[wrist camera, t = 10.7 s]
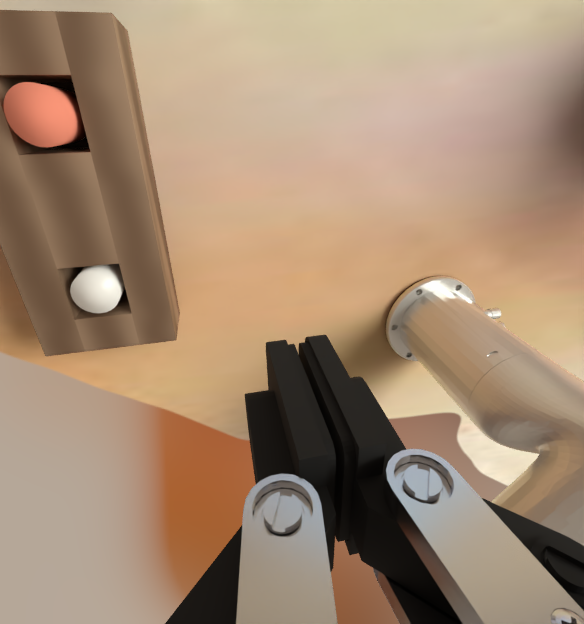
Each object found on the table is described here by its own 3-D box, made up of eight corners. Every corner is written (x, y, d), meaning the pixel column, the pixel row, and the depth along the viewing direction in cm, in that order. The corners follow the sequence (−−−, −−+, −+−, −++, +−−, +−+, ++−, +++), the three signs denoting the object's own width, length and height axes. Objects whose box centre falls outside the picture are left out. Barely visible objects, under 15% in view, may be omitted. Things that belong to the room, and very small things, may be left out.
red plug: (82, 87, 30) (59, 81, 25) (96, 141, 32) (77, 146, 27) (28, 87, 29) (-7, 82, 24) (45, 143, 31) (16, 148, 26)
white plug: (125, 250, 37) (113, 270, 32) (134, 287, 39) (124, 310, 34) (82, 254, 36) (64, 274, 32) (93, 291, 38) (77, 315, 33)
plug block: (127, 30, 30) (111, 12, 25) (179, 312, 42) (176, 340, 37) (-41, 28, 28) (-96, 7, 23) (65, 325, 40) (45, 356, 35)
